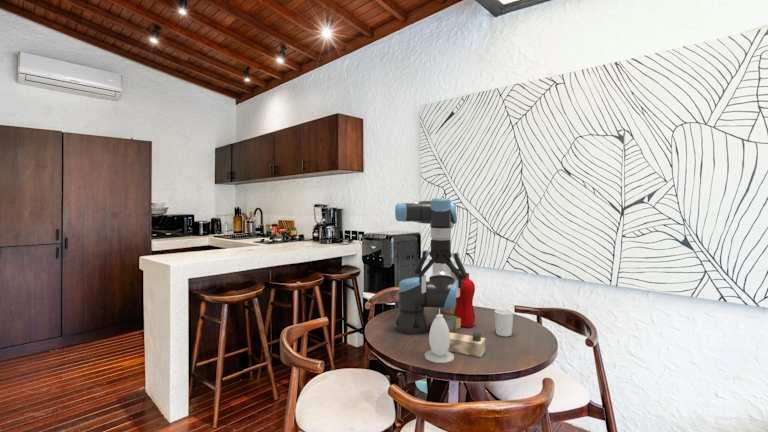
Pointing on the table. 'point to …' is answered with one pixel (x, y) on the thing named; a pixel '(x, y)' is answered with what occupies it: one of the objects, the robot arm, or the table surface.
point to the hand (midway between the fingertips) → (440, 294)
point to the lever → (453, 322)
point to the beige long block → (467, 344)
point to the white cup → (503, 322)
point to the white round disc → (439, 357)
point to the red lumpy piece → (466, 303)
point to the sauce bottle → (439, 336)
